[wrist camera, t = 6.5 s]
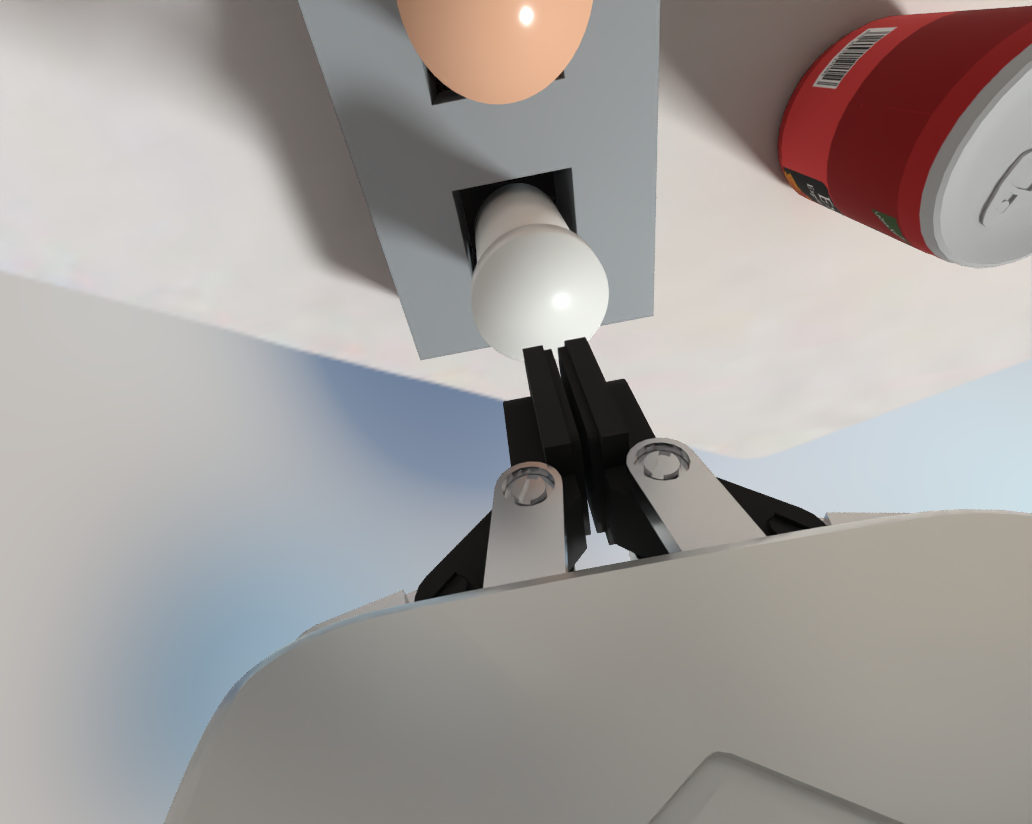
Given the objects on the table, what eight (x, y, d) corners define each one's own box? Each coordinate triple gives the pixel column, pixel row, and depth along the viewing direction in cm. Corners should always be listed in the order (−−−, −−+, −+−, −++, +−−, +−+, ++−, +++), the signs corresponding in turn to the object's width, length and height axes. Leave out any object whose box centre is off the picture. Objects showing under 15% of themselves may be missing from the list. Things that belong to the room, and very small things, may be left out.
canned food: (752, 199, 27) (892, 274, 18) (806, 14, 22) (1034, -5, 13) (879, 196, 27) (1074, 267, 19) (960, 16, 22) (1276, -2, 14)
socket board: (159, -566, 13) (-18, -923, 8) (599, -674, 12) (684, -1115, 8) (426, 308, 29) (420, 360, 24) (621, 270, 28) (653, 315, 24)
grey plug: (457, 186, 21) (456, 249, 14) (561, 166, 21) (605, 219, 14) (479, 285, 24) (486, 373, 17) (570, 267, 23) (611, 349, 17)
